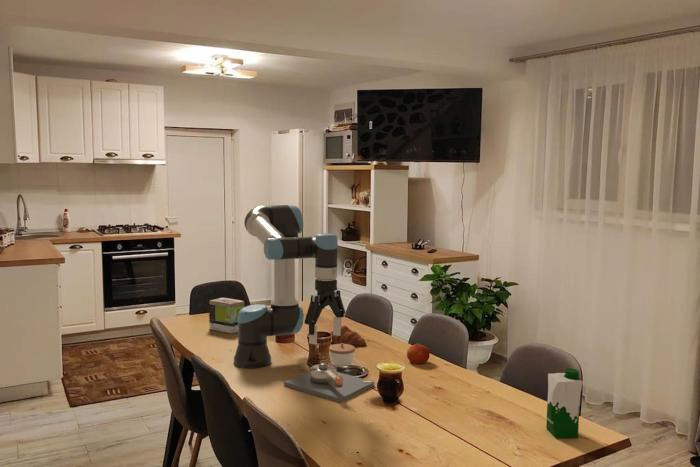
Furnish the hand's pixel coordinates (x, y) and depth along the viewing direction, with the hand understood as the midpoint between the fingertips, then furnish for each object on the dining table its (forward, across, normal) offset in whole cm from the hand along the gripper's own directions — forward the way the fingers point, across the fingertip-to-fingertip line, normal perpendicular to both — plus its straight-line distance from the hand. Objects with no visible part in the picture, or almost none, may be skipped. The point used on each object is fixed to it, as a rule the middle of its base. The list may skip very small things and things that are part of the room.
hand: (325, 339), depth 207 cm
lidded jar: (+21, +32, +16) cm, 42 cm away
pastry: (+21, +60, +34) cm, 72 cm away
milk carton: (+22, +22, -75) cm, 81 cm away
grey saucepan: (+19, +8, +5) cm, 22 cm away
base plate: (+21, +11, +6) cm, 25 cm away
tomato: (+21, +56, -7) cm, 60 cm away
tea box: (+21, +42, +92) cm, 104 cm away
